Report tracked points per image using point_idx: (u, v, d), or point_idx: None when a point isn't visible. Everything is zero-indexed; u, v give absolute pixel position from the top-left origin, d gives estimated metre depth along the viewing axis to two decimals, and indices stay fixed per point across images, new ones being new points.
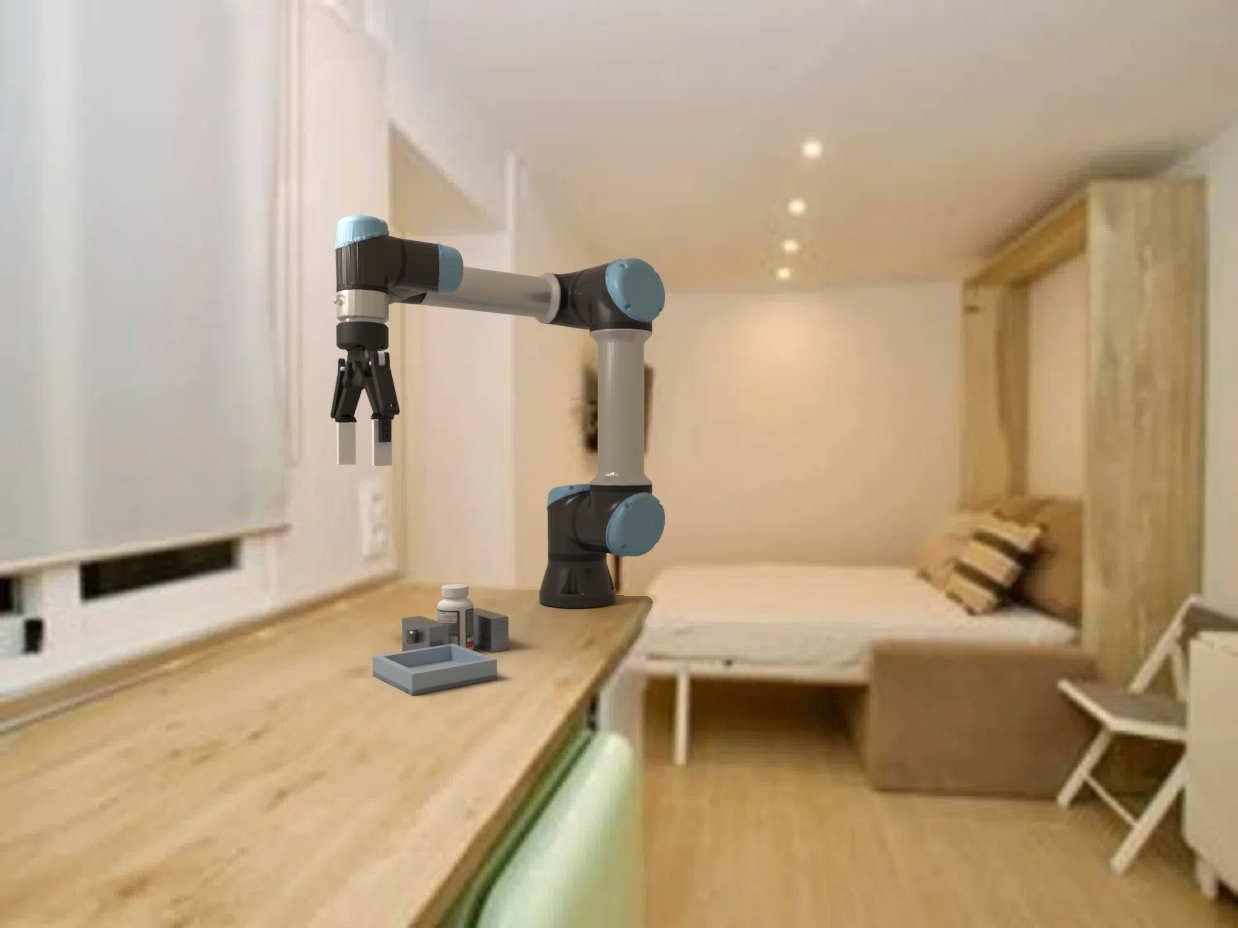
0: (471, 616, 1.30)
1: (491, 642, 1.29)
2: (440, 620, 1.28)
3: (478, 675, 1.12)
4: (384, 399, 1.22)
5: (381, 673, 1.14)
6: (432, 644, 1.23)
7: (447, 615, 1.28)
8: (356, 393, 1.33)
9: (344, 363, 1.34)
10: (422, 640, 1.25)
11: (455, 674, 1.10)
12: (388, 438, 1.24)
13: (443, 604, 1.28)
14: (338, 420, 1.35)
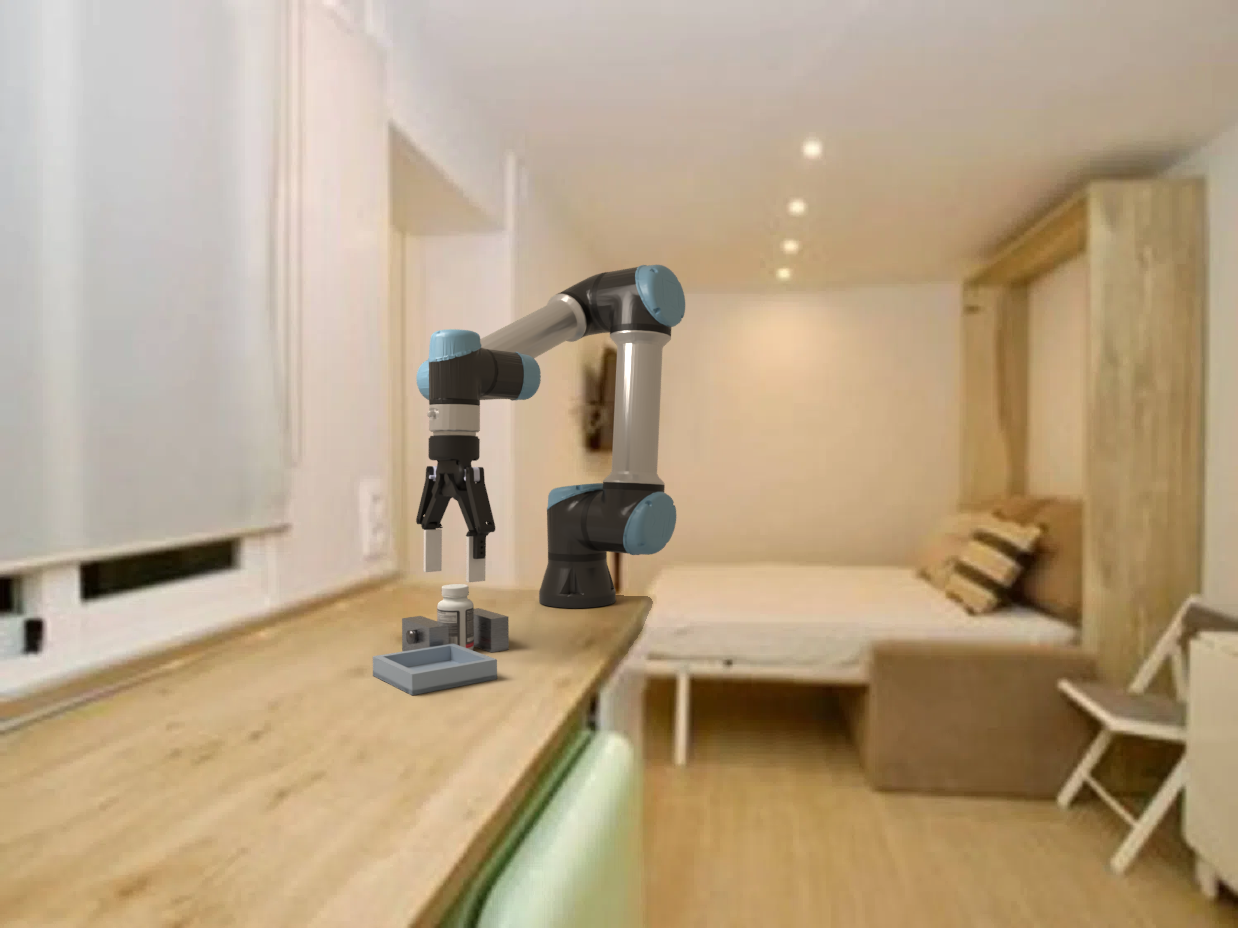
0: (471, 616, 1.30)
1: (491, 642, 1.29)
2: (440, 620, 1.28)
3: (478, 675, 1.12)
4: (480, 517, 1.22)
5: (381, 673, 1.14)
6: (432, 644, 1.23)
7: (447, 615, 1.28)
8: (444, 502, 1.33)
9: (432, 471, 1.34)
10: (422, 640, 1.25)
11: (455, 674, 1.10)
12: (483, 555, 1.24)
13: (443, 604, 1.28)
14: (425, 527, 1.35)
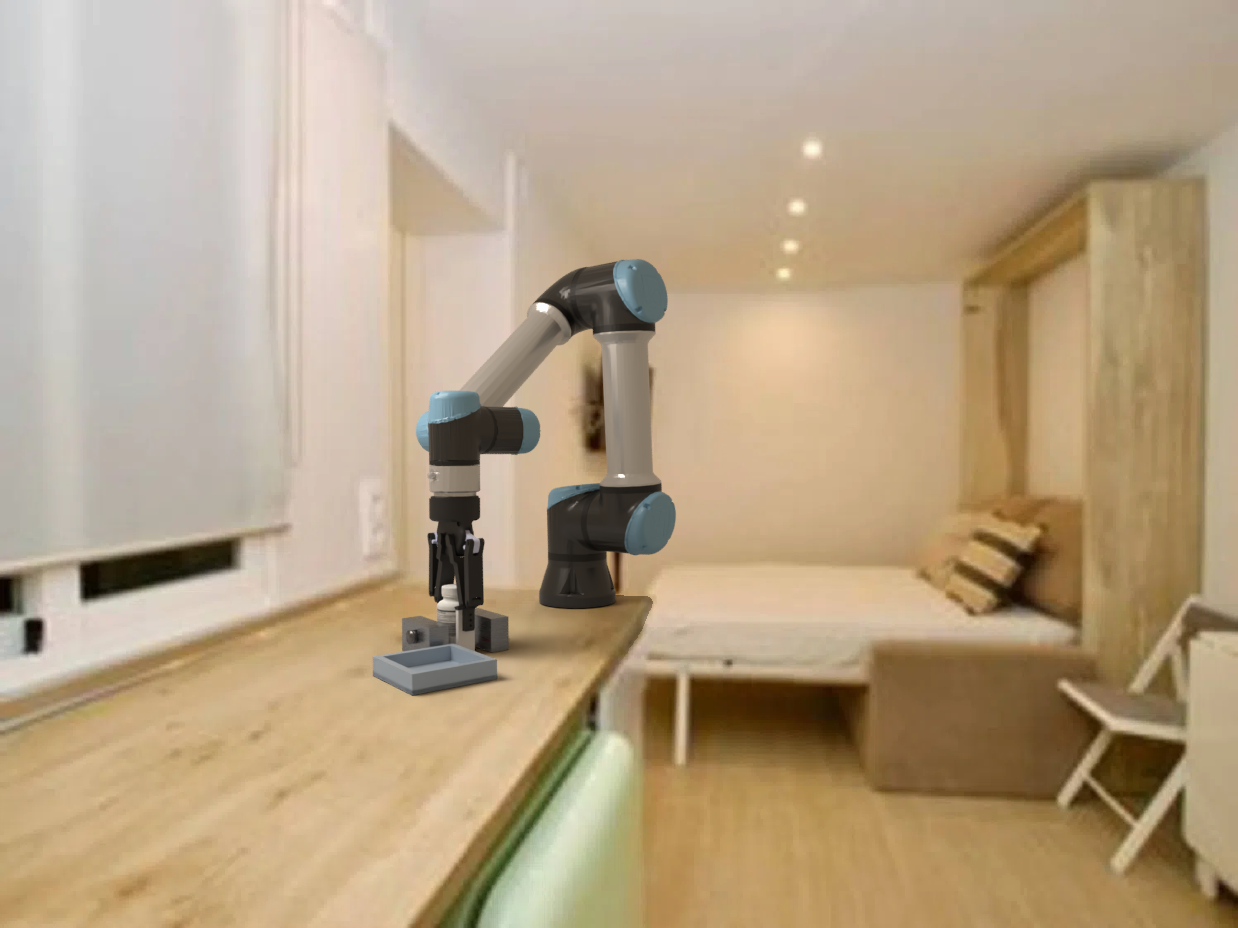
0: None
1: (491, 642, 1.29)
2: (440, 620, 1.28)
3: (478, 675, 1.12)
4: (471, 593, 1.25)
5: (381, 673, 1.14)
6: (432, 644, 1.23)
7: (447, 615, 1.28)
8: (451, 565, 1.32)
9: (434, 536, 1.34)
10: (422, 640, 1.25)
11: (455, 674, 1.10)
12: (472, 627, 1.27)
13: (443, 604, 1.28)
14: (438, 599, 1.32)
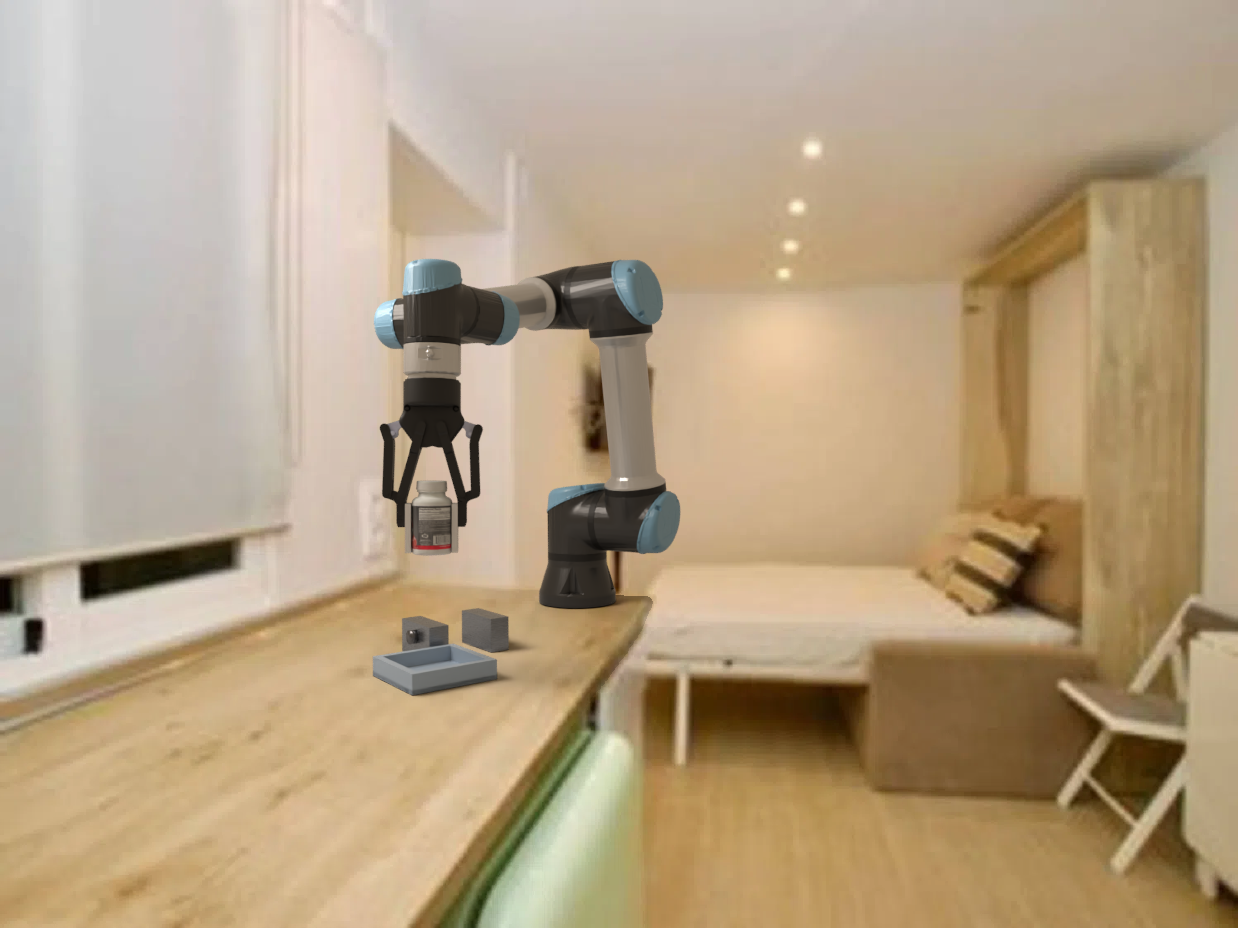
0: None
1: (491, 642, 1.29)
2: (433, 518, 1.14)
3: (478, 675, 1.12)
4: (479, 482, 1.16)
5: (381, 673, 1.14)
6: (432, 644, 1.23)
7: (443, 511, 1.14)
8: (417, 460, 1.16)
9: (389, 427, 1.15)
10: (422, 640, 1.25)
11: (455, 674, 1.10)
12: None
13: (436, 499, 1.14)
14: (405, 499, 1.15)
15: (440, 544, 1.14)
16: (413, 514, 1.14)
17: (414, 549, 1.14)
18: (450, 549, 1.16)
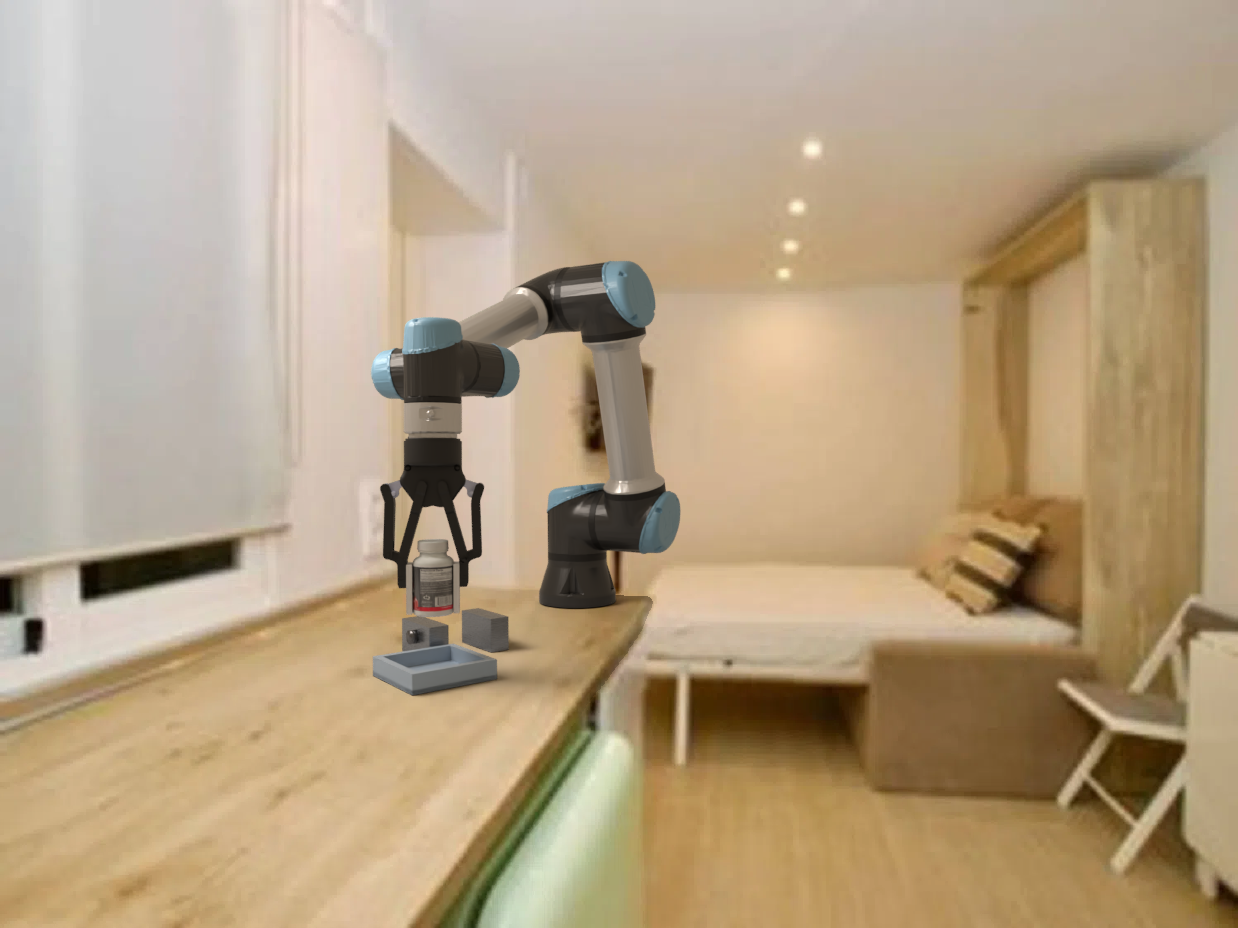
0: None
1: (491, 642, 1.29)
2: (434, 579, 1.12)
3: (478, 675, 1.12)
4: (481, 541, 1.15)
5: (381, 673, 1.14)
6: (432, 644, 1.23)
7: (444, 572, 1.13)
8: (418, 519, 1.15)
9: (389, 487, 1.13)
10: (422, 640, 1.25)
11: (455, 674, 1.10)
12: (468, 581, 1.16)
13: (438, 560, 1.13)
14: (406, 560, 1.13)
15: (442, 605, 1.13)
16: (415, 575, 1.13)
17: (415, 611, 1.13)
18: (452, 609, 1.14)
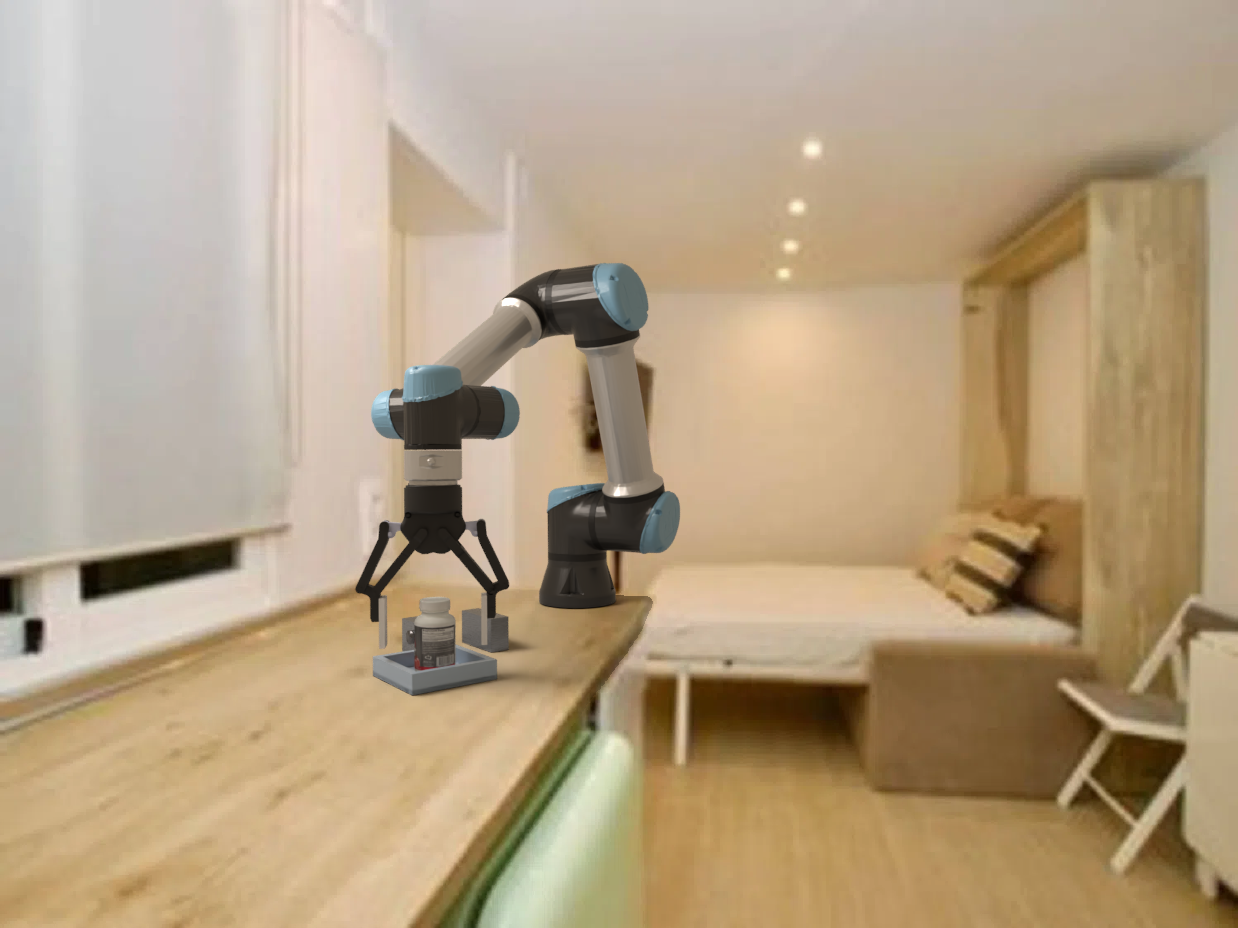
0: None
1: (491, 642, 1.29)
2: (436, 639, 1.13)
3: (478, 675, 1.12)
4: (504, 573, 1.16)
5: (381, 673, 1.14)
6: None
7: (446, 632, 1.13)
8: None
9: (388, 527, 1.13)
10: None
11: (455, 674, 1.10)
12: None
13: (440, 620, 1.13)
14: (378, 595, 1.13)
15: (443, 665, 1.13)
16: (416, 634, 1.13)
17: (417, 670, 1.13)
18: None
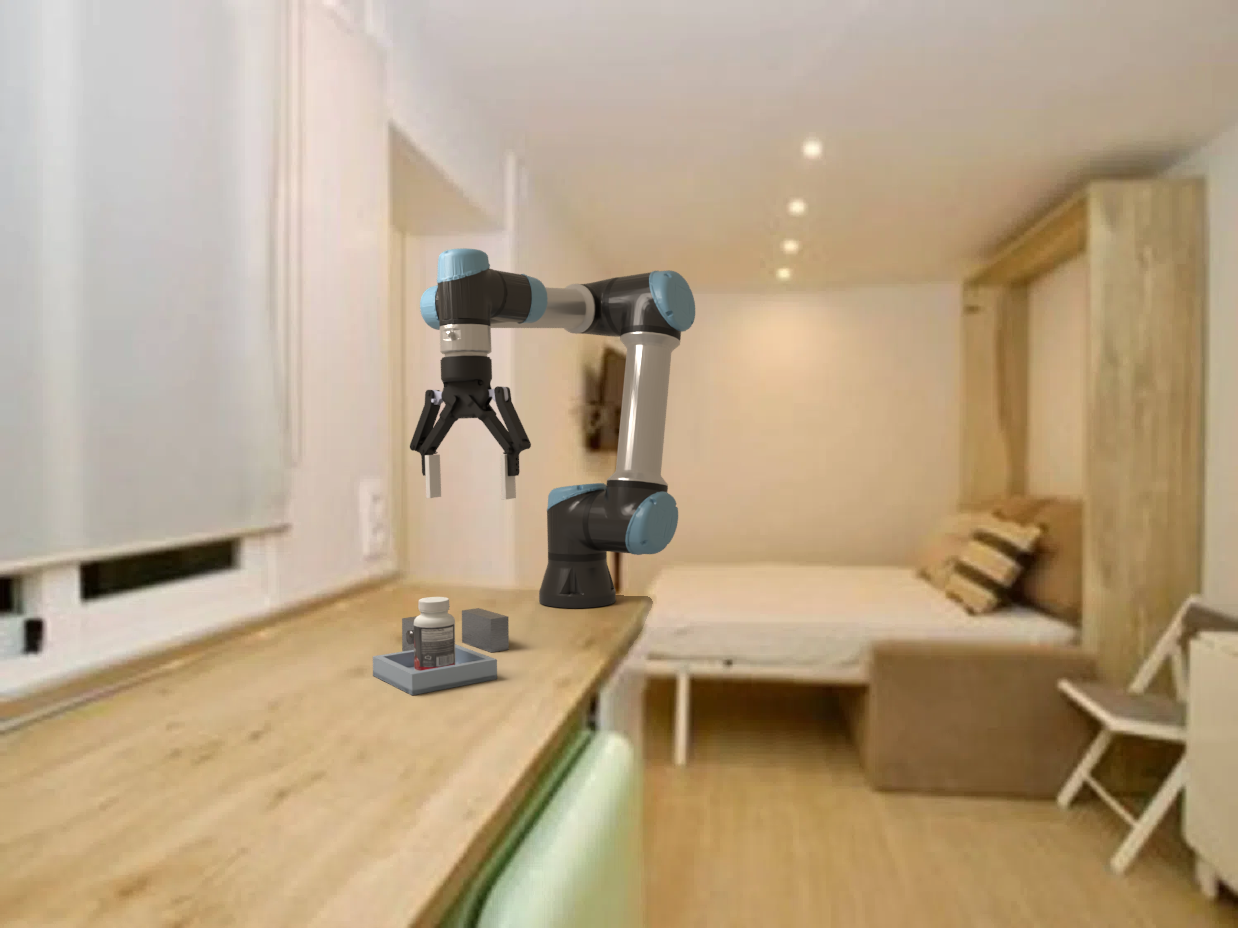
0: None
1: (491, 642, 1.29)
2: (436, 639, 1.13)
3: (478, 675, 1.12)
4: (519, 434, 1.25)
5: (381, 673, 1.14)
6: None
7: (445, 632, 1.13)
8: (449, 425, 1.32)
9: (433, 395, 1.31)
10: None
11: (455, 674, 1.10)
12: (517, 472, 1.27)
13: (439, 620, 1.13)
14: (425, 452, 1.32)
15: (443, 665, 1.13)
16: (416, 635, 1.13)
17: (417, 670, 1.13)
18: None
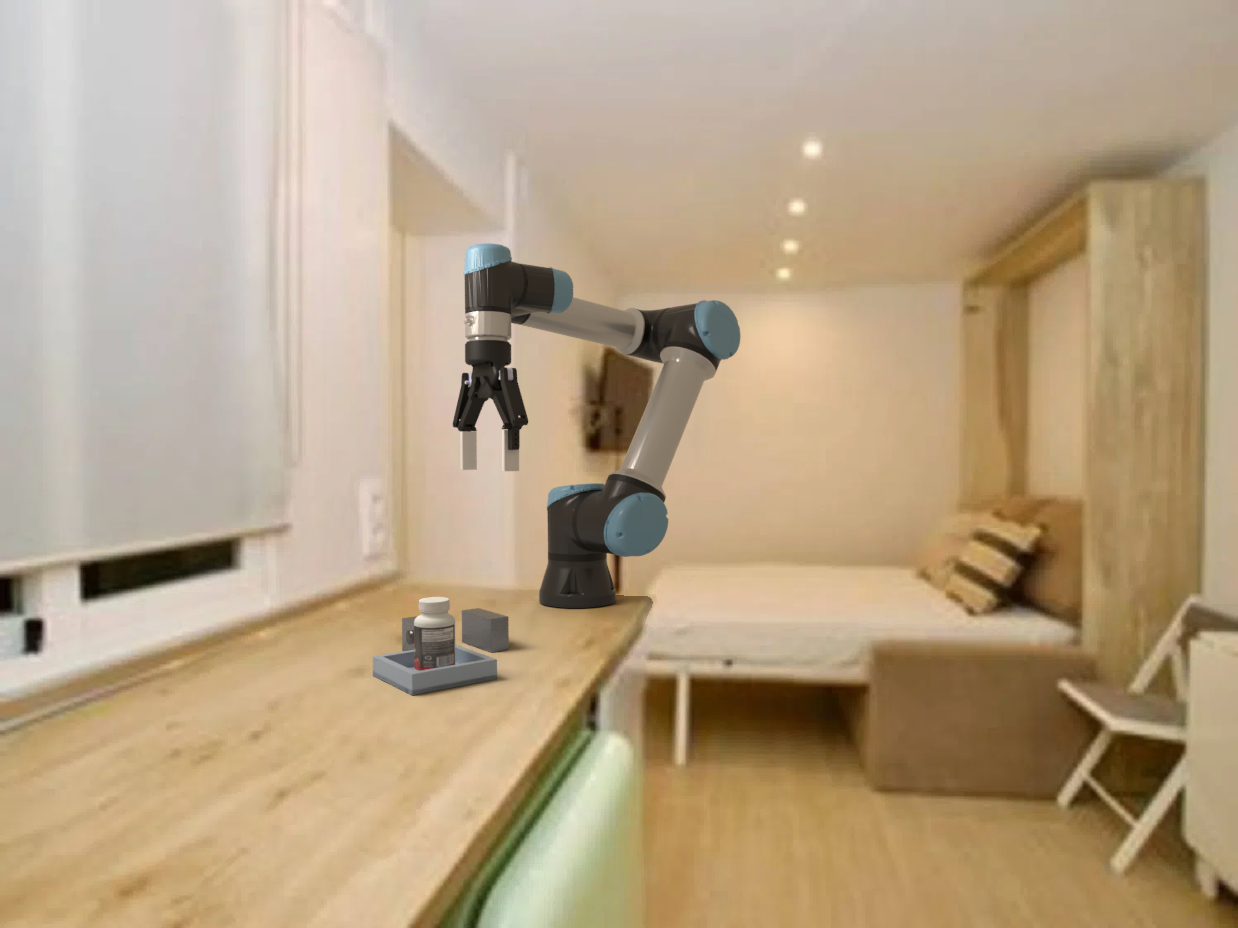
0: None
1: (491, 642, 1.29)
2: (436, 639, 1.13)
3: (478, 675, 1.12)
4: (515, 411, 1.35)
5: (381, 673, 1.14)
6: None
7: (446, 632, 1.13)
8: (479, 404, 1.46)
9: (468, 377, 1.47)
10: None
11: (455, 674, 1.10)
12: (517, 446, 1.36)
13: (439, 620, 1.13)
14: (461, 429, 1.48)
15: (444, 665, 1.13)
16: (416, 635, 1.13)
17: (417, 670, 1.13)
18: None
